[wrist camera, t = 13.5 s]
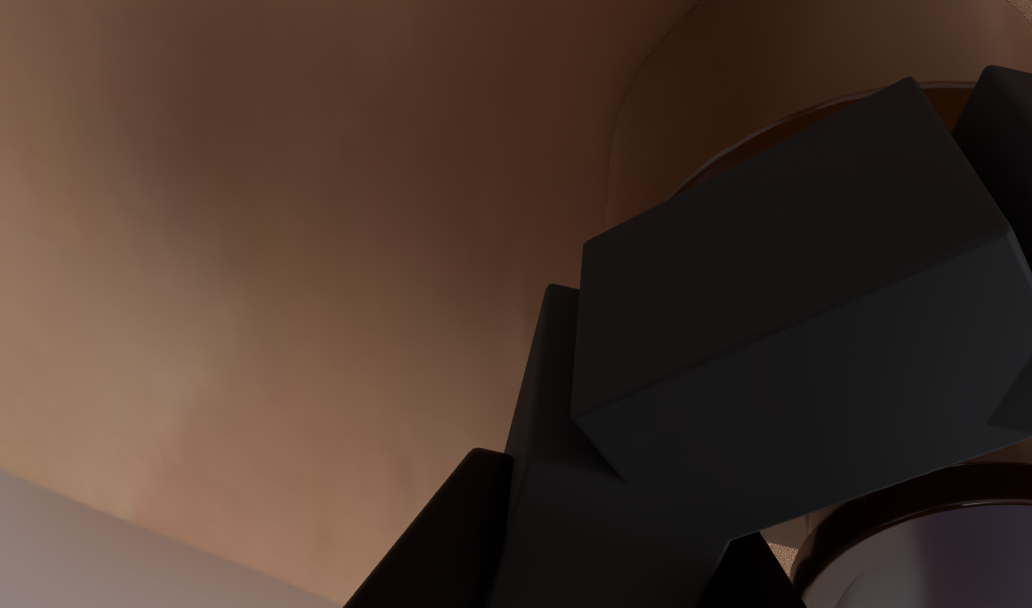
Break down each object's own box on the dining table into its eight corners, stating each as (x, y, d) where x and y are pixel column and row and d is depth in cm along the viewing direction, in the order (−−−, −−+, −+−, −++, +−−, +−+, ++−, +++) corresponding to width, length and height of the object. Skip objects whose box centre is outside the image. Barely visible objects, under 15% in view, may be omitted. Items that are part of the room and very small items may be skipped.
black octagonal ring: (1701, 221, 8) (2082, 427, 6) (1094, 769, 13) (1179, 976, 11) (624, -22, 7) (623, 105, 5) (455, 641, 13) (422, 828, 11)
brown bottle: (642, 358, 19) (639, 827, 12) (573, -2, 15) (498, 355, 8) (1039, 316, 18) (1341, 830, 10) (1082, -101, 14) (1647, 228, 6)
